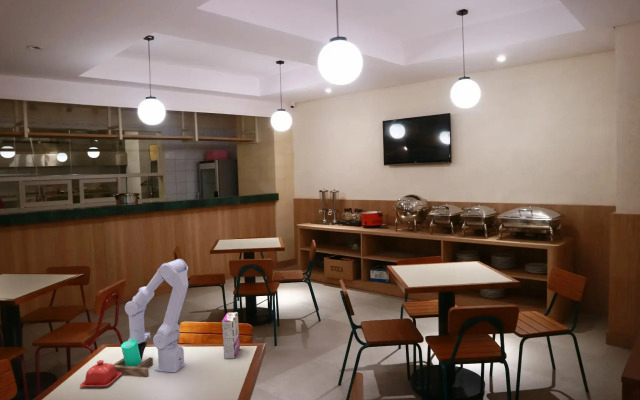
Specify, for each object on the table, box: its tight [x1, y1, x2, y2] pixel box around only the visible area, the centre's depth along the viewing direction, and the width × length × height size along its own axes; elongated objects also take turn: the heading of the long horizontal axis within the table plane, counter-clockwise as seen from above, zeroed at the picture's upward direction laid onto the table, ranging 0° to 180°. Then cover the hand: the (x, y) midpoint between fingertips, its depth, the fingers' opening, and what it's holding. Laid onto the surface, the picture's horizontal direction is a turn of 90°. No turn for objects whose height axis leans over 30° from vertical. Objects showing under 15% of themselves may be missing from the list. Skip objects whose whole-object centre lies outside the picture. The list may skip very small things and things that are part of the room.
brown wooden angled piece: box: [112, 357, 154, 378], centre depth 186 cm, size 20×10×3 cm, turn 77°
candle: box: [120, 340, 143, 367], centre depth 186 cm, size 6×6×12 cm
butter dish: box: [79, 359, 122, 387], centre depth 176 cm, size 12×12×8 cm
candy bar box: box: [221, 311, 241, 360], centre depth 198 cm, size 11×5×16 cm, turn 179°
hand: (139, 360), depth 191 cm, fingers closed
